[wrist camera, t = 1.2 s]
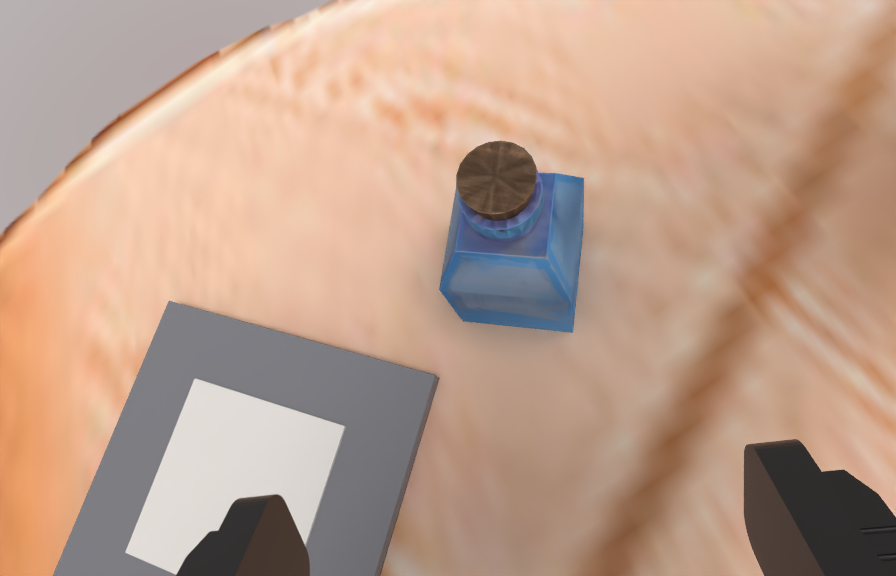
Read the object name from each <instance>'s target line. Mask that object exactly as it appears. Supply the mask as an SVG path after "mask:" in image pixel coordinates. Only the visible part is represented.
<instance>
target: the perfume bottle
mask: <svg viewBox="0 0 896 576" xmlns="http://www.w3.org/2000/svg"><path fill="white" fill-rule="evenodd" d="M583 206H584V178H580V177H574V176H569V175H563V174H557V173H538V171H537V169H536V165H535V163H534V161H533V158H532V156H531V155H530V154H529V153H528V152H527V151H526V150H525V149H524V148H522V147H520V146H518V145H516V144H515V143H511V142H506V141H494V142H488V143H485V144H483V145H480V146H478V147H476V148H475V149H474V150H472V151H471V152H470V153H468V154H467V155H466V157H465V158H464V160H463V161H462V162H461V164H460V166H459V169H458V172H457V175H456V192H455V198H454V204H453V210H452V216H451V222H450V228H449V234H448V240H447V247H446V253H445V259H444V265H443V271H442V277H441V283H440V289H439V290H440V291H441V292H442V294H443V295H444V296H445V298H446V299H447V300H448V302H449V303H450V304H451V306H452V307H453V308H454V310H455V311H456V312H457V314H458V315H459V316H460V318H461V319H462V320H463V321H467V322H477V323H486V324H496V325H505V326H515V327H525V328H534V329H544V330H554V331H563V332H573V325H574V315H575V305H576V295H577V285H578V275H579V265H580V255H581V245H582V235H583Z"/></svg>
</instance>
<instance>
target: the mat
mask: <svg viewBox="0 0 896 576" xmlns="http://www.w3.org/2000/svg"><path fill="white" fill-rule="evenodd" d="M438 380H439V378H438V377H437V376H435V375H432V374H429V373H425V372H422V371H418V370H415V369H411V368H407V367H404V366H400V365H397V364H393V363H390V362H386V361H382V360H379V359H375V358H372V357H368V356H365V355H361V354H357V353H354V352H350V351H347V350H343V349H340V348H336V347H333V346H329V345H325V344H322V343H318V342H315V341H311V340H308V339H304V338H300V337H297V336H293V335H290V334H286V333H283V332H279V331H275V330H272V329H268V328H265V327H261V326H258V325H254V324H250V323H247V322H243V321H240V320H236V319H233V318H229V317H225V316H222V315H218V314H215V313H211V312H208V311H204V310H200V309H197V308H193V307H190V306H186V305H183V304H179V303H175V302H172V301H169V302H168V304H167V307H166V309H165V311H164V314H163V316H162V318H161V321H160V323H159V326H158V328H157V330H156V333H155V335H154V337H153V340H152V342H151V345H150V347H149V349H148V352H147V354H146V356H145V359H144V361H143V363H142V366H141V368H140V371H139V373H138V375H137V378H136V380H135V382H134V385H133V387H132V389H131V392H130V394H129V397H128V399H127V401H126V404H125V406H124V408H123V411H122V413H121V416H120V418H119V420H118V423H117V425H116V427H115V430H114V432H113V434H112V437H111V439H110V442H109V444H108V446H107V449H106V451H105V453H104V456H103V458H102V461H101V463H100V465H99V468H98V470H97V472H96V475H95V477H94V479H93V482H92V484H91V487H90V489H89V491H88V494H87V496H86V498H85V501H84V503H83V505H82V508H81V510H80V513H79V515H78V517H77V520H76V522H75V524H74V527H73V529H72V532H71V534H70V536H69V539H68V541H67V543H66V546H65V548H64V550H63V553H62V555H61V558H60V560H59V562H58V565H57V567H56V569H55V572H54V574H53V576H176V575H177V573H178V571H179V569H180V567H181V565H182V563H183V562H184V560H185V558H186V556H187V555H188V554H189V553H190V552H191V551H192V550H193V549H194V548H195V547H196V546H197V545H198V544H199V542H200V541H201V540H202V539H203V538H204V537H205V536H206V535H207V534H208V533H209V532H210V531H218V530H219V528H220V526H221V524H222V522H223V520H224V518H225V516H226V514H227V512H228V510H229V508H230V507H231V505H232V504H233V502H234V501H235V500H237V499H239V498H246V497H255V496H265V495H274V494H278V495H280V496H282V497H283V499H284V500H285V502H286V504H287V507H288V509H289V511H290V513H291V515H292V518H293V520H294V522H295V524H296V527H297V529H298V531H299V533H300V535H301V538H302V540H303V542H304V544H305V547H306V549H307V552H308V555H309V562H310V576H380V573H381V570H382V566H383V563H384V560H385V556H386V553H387V550H388V546H389V543H390V540H391V536H392V533H393V530H394V526H395V523H396V520H397V516H398V513H399V510H400V506H401V503H402V500H403V496H404V493H405V490H406V486H407V483H408V480H409V477H410V473H411V470H412V467H413V463H414V460H415V457H416V453H417V450H418V447H419V443H420V440H421V437H422V433H423V430H424V427H425V423H426V420H427V417H428V413H429V410H430V407H431V403H432V400H433V397H434V393H435V390H436V387H437V384H438Z"/></svg>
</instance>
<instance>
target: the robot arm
mask: <svg viewBox="0 0 896 576" xmlns="http://www.w3.org/2000/svg"><path fill="white" fill-rule="evenodd" d="M744 518H745V524H746V529H747V533H748V537H749V540H750V543H751V546H752V549H753V551H754V554H755V556H756V558H757V560H758V563H759V565H760V567H761V569H762V571H763V574H764V576H896V517H895V516H894V515H893V513H892V512H891V511H890V509H889V508H888V507H887V505H886V504H885V503H884V501H883V500H882V499H881V497H880V496H879V495H878V494H877V493H876V492H875V491H873V490H872V489H870V488H869V487H868V486H866V485H865V484H863V483H862V482H861V481H859V480H858V479H856V478H855V477H854V476H852V475H851V474H849V473H848V472H847V471H845V470H836V471H826V472H821V470H820V469H819V467H818V466H817V464H816V463H815V461H814V460H813V458H812V457H811V455H810V454H809V452H808V451H807V449H806V448H805V446H804V445H803V444H802V443H801V442H800V441H799V440H796V439H794V440H785V441H776V442H766V443H757V444H748V445H746V447H745V450H744ZM176 576H310V562H309V555H308V552H307V549H306V547H305V544H304V542H303V540H302V538H301V535H300V533H299V531H298V529H297V527H296V524H295V522H294V520H293V518H292V515H291V513H290V511H289V509H288V507H287V504H286V502H285V500H284V499H283V497H282V496H280V495H278V494H274V495H265V496H255V497H246V498H239V499H237V500H235V501H234V502H233V504H232V505H231V507H230V508H229V510H228V512H227V514H226V516H225V518H224V520H223V522H222V524H221V526H220V528H219V530H218V531H210V532H209V533H208V534H207V535H206V536H205V537H204V538H203V539H202V540H201V541H200V542H199V544H198V545H197V546H196V547H195V548H194V549H193V550H192V551H191V552H190V553H189V554H188V555H187V556H186V558H185V560H184V562H183V563H182V565H181V567H180V569H179V571H178V573H177V575H176Z"/></svg>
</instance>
